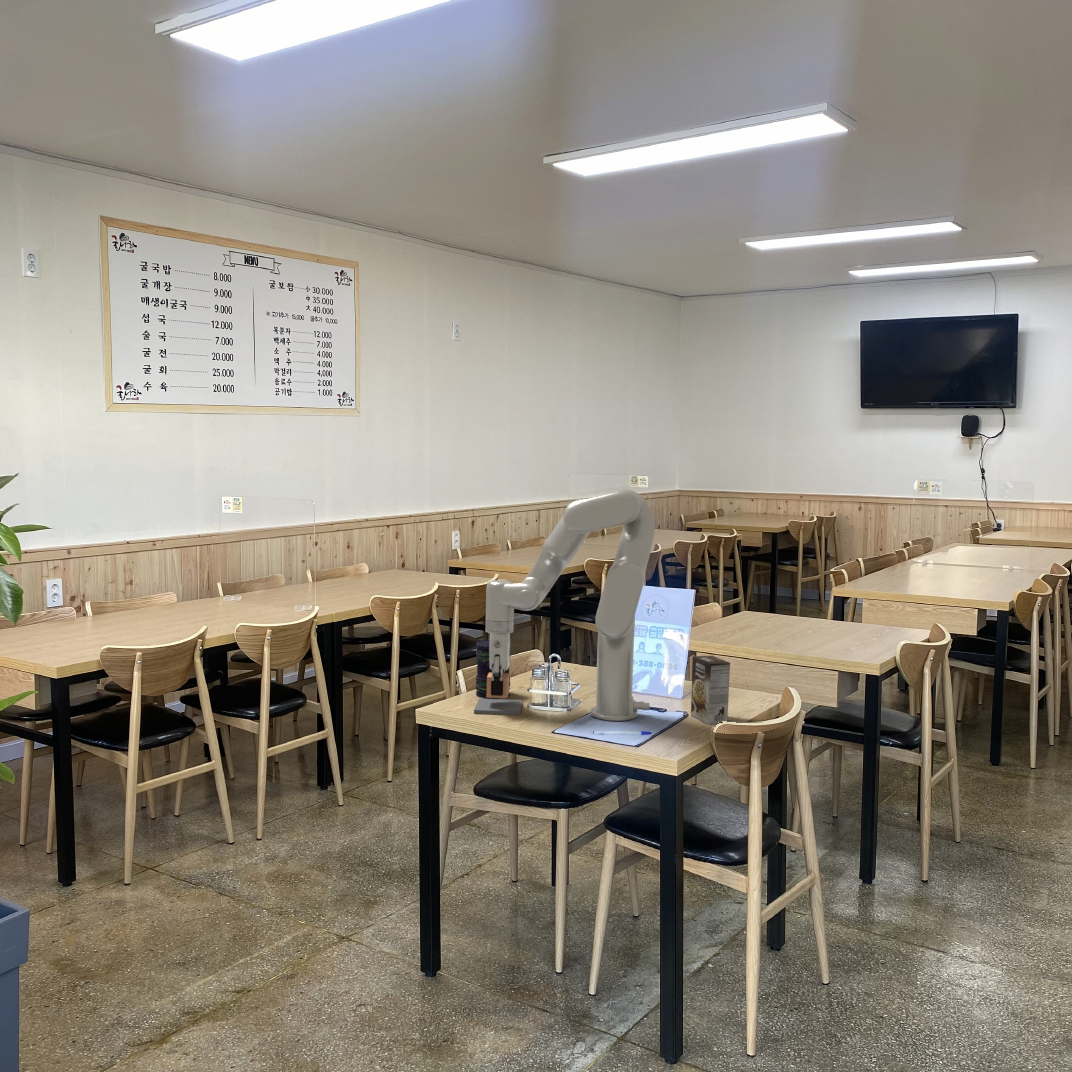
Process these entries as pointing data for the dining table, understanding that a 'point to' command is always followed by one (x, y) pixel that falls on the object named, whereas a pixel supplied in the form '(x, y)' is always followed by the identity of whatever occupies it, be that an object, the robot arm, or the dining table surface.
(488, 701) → the coaster mat
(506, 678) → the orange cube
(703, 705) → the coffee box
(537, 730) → the dining table surface
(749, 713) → the dining table surface
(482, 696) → the storage jar
